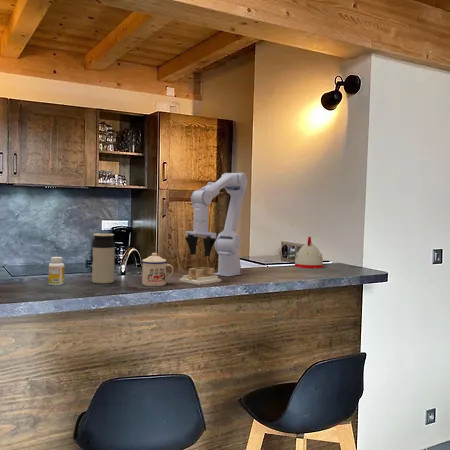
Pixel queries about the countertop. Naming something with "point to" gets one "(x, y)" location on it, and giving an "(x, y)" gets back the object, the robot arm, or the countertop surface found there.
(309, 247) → the kitchen timer
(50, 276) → the supplement bottle
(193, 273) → the frame
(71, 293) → the countertop surface
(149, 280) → the teacup with lid
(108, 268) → the travel mug
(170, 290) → the countertop surface
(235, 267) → the robot arm
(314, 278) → the countertop surface
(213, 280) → the cream flat piece
